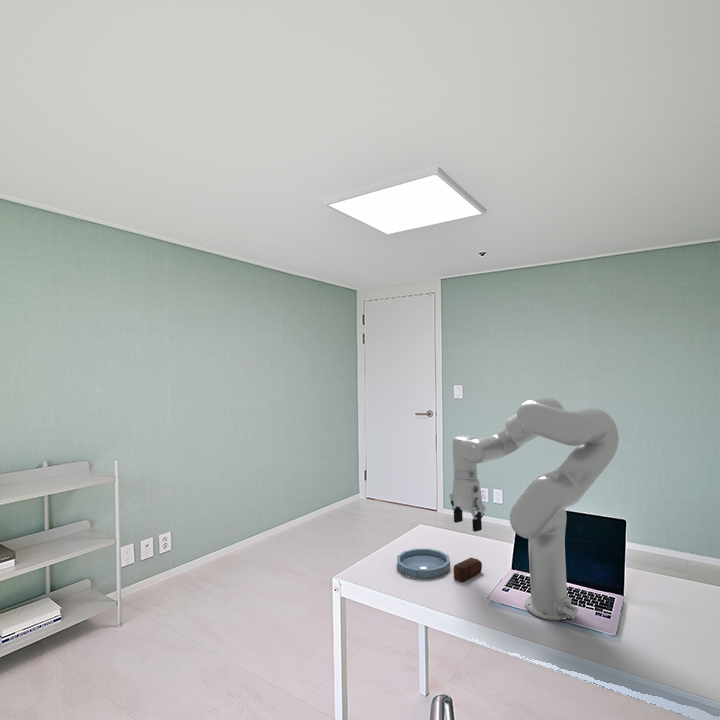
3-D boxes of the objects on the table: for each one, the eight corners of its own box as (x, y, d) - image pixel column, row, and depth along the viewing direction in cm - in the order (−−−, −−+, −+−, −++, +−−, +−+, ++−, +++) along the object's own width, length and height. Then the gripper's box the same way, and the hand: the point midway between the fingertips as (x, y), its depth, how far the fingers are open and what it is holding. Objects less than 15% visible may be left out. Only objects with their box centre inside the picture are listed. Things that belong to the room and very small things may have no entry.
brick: (463, 583, 147) (463, 569, 147) (453, 579, 150) (452, 565, 150) (482, 573, 154) (482, 558, 154) (472, 569, 157) (471, 555, 157)
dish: (460, 570, 155) (460, 562, 155) (415, 583, 148) (414, 574, 148) (430, 552, 172) (430, 545, 172) (388, 563, 164) (387, 555, 164)
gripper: (492, 477, 145) (494, 532, 145) (458, 467, 161) (460, 516, 161) (473, 481, 142) (475, 536, 142) (440, 470, 158) (442, 520, 158)
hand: (467, 526), depth 151 cm, fingers open, 9 cm apart
